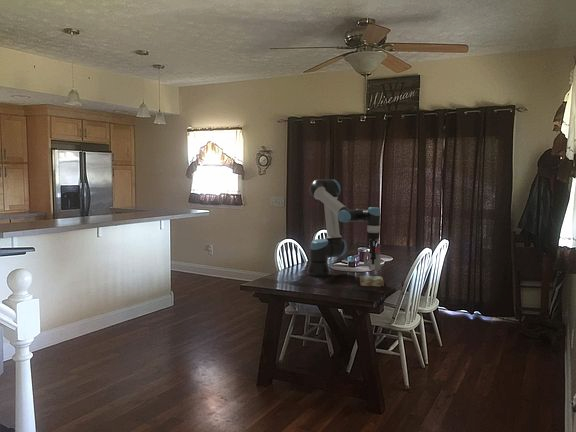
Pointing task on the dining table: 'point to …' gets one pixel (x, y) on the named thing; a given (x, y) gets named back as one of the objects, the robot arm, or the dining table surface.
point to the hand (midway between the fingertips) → (372, 267)
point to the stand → (371, 281)
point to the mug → (377, 260)
